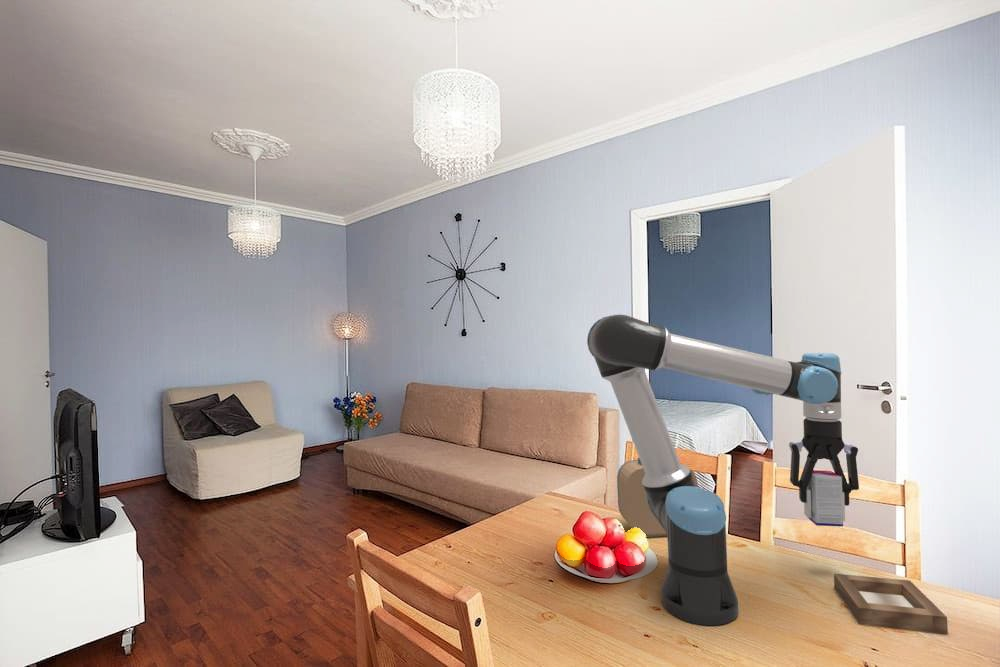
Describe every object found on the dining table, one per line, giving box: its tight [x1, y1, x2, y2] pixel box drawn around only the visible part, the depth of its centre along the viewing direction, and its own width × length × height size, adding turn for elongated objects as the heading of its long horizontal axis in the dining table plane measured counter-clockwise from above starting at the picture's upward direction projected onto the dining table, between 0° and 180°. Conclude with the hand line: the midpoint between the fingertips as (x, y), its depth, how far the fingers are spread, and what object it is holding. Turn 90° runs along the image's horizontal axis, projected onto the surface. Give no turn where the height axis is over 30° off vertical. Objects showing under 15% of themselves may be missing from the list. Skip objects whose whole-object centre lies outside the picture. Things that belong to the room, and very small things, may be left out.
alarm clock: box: [616, 456, 699, 538], centre depth 144 cm, size 21×10×22 cm, turn 94°
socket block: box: [833, 573, 949, 635], centre depth 100 cm, size 14×14×3 cm
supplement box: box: [807, 469, 844, 527], centre depth 115 cm, size 6×6×12 cm
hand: (824, 517), depth 115 cm, fingers closed on supplement box, 6 cm apart
